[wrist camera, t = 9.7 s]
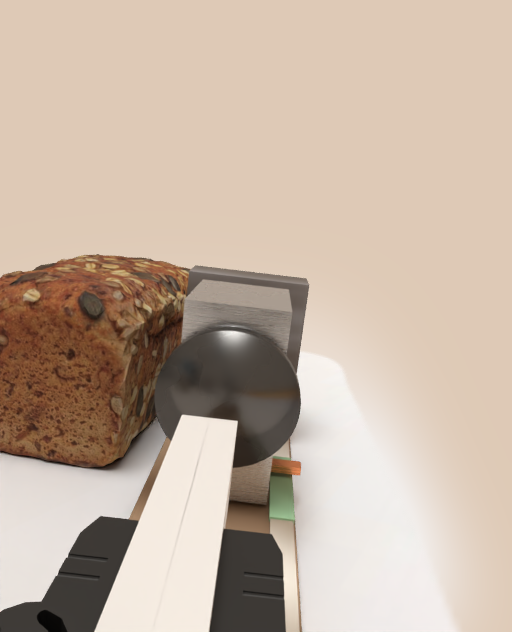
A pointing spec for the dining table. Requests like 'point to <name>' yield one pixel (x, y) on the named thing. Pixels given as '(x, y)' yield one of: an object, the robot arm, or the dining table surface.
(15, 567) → the dining table surface
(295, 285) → the gauge body
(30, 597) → the dining table surface
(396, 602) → the dining table surface
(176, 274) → the bread
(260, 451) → the brushed steel block
